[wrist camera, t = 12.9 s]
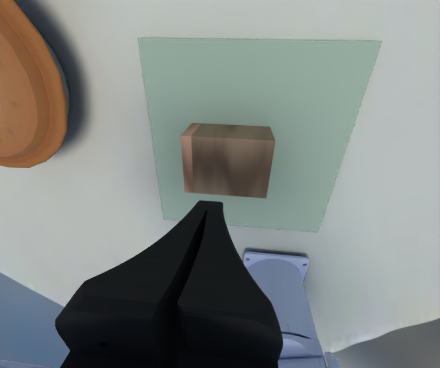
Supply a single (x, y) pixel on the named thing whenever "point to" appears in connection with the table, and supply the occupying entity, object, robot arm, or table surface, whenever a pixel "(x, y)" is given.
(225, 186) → the walnut block
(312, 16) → the table surface
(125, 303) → the robot arm
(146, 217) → the table surface
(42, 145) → the pie
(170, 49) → the sage mat
